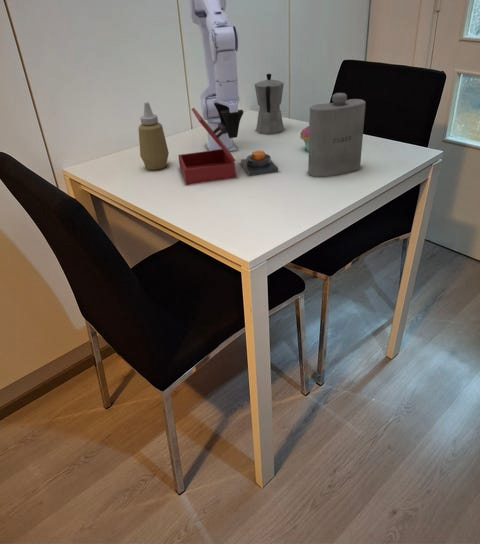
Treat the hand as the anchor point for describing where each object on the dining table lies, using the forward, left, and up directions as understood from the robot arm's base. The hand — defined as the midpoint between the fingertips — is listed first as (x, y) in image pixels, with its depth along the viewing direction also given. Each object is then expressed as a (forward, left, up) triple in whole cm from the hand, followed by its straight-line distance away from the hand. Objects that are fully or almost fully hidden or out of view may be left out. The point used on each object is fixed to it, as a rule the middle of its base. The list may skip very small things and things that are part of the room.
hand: (229, 133), depth 130 cm
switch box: (+2, +7, -10) cm, 13 cm away
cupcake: (-6, +27, -10) cm, 29 cm away
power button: (+1, +7, -8) cm, 11 cm away
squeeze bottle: (-10, -20, -10) cm, 25 cm away
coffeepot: (-29, +20, -10) cm, 37 cm away
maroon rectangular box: (0, -7, -10) cm, 12 cm away
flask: (+12, +26, -10) cm, 30 cm away
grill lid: (0, -5, 0) cm, 5 cm away
